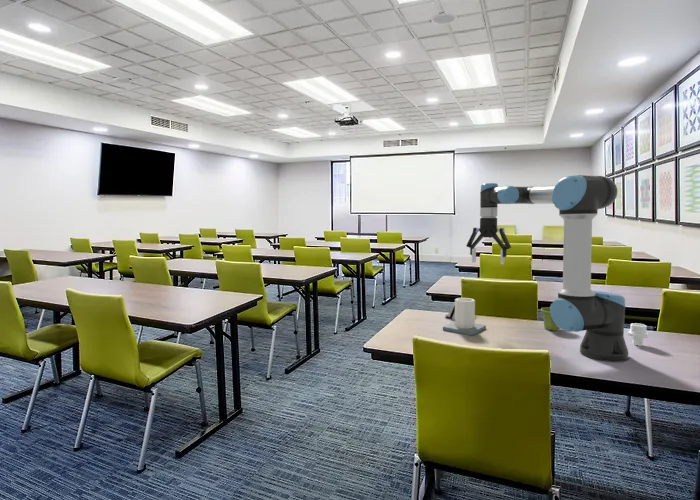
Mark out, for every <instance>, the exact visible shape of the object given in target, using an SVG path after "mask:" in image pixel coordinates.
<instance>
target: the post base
mask: <svg viewBox="0 0 700 500" xmlns="http://www.w3.org/2000/svg"><path fill="white" fill-rule="evenodd" d="M486 329H487V325H486V324H481V323H475V327H473V328H467V329H464V328H458V327H456V326H455V321H453V322H450V323H449V324H446V325H444V326H442V330H443V331H446V332H452V333H456V334H461V335H467V336H471V337H472V336H475V335H477V334H478V333H481V332H482V331H484V330H486Z"/></svg>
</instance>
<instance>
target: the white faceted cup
mask: <svg viewBox="0 0 700 500" xmlns="http://www.w3.org/2000/svg"><path fill="white" fill-rule="evenodd" d="M454 303H455V319H454V322H455V326H456V327H458V328H464V329H467V328H473V327H475V324H476V322H475V321H476V319H475V317H476V316H475V314H476V300H475V299H474V298H469V297H457V298H455V299H454Z"/></svg>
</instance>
